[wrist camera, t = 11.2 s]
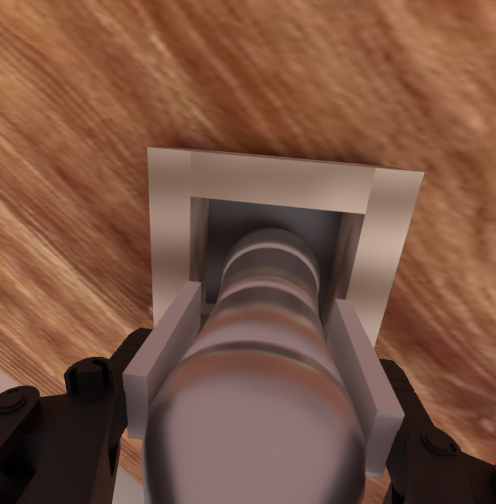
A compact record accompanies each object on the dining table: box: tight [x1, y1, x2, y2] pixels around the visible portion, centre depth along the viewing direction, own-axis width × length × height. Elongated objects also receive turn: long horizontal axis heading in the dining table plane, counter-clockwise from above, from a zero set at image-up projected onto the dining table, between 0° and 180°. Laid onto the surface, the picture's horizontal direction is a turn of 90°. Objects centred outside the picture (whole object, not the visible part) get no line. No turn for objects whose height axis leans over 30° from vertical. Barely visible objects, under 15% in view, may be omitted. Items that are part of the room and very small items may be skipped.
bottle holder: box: [147, 147, 424, 349], centre depth 21 cm, size 15×15×6 cm
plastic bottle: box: [141, 228, 367, 504], centre depth 13 cm, size 6×7×20 cm
